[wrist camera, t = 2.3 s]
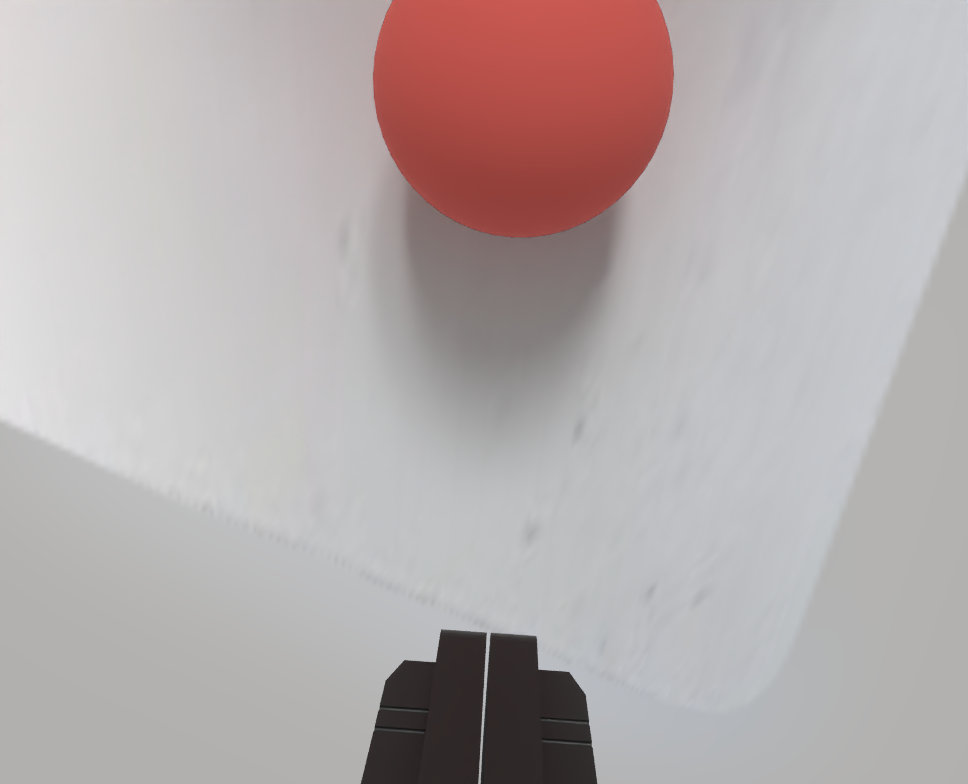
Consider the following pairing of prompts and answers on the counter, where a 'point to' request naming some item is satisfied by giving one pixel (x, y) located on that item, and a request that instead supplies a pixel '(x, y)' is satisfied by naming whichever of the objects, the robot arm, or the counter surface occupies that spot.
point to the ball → (522, 105)
